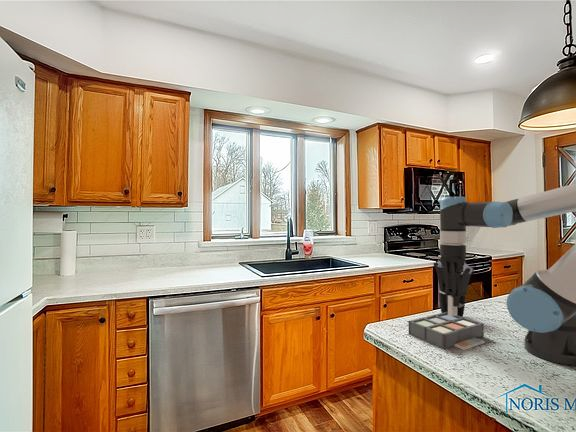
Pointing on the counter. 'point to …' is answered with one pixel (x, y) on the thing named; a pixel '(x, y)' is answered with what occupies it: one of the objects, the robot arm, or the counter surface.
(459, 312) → the mug
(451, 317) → the key
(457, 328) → the orange square block
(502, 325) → the counter surface
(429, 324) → the key
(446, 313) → the gray compartment tray
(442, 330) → the key
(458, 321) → the key
